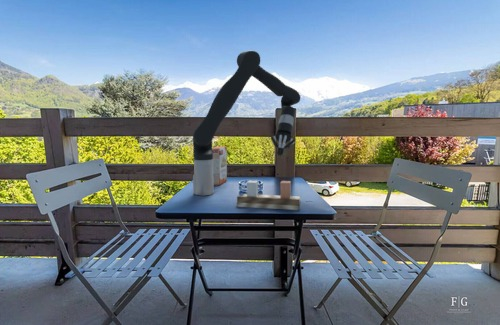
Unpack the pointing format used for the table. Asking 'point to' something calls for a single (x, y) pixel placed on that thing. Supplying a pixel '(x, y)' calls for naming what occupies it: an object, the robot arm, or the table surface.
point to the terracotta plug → (285, 189)
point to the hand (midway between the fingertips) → (279, 155)
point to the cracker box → (219, 165)
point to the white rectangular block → (252, 188)
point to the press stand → (269, 202)
